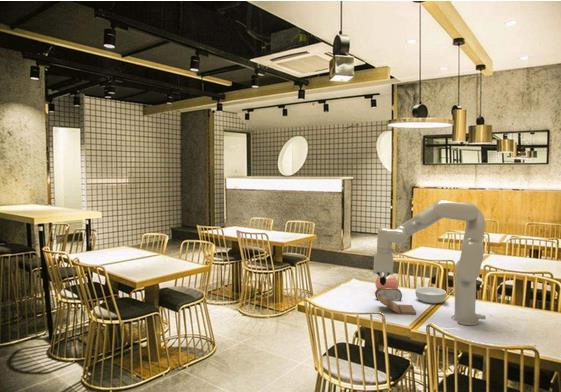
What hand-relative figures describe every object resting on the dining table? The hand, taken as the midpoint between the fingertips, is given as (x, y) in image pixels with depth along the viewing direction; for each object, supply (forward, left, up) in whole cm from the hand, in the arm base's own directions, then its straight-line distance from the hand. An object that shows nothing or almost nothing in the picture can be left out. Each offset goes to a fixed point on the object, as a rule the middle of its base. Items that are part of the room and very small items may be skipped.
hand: (382, 284), depth 216 cm
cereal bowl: (-30, -20, -15) cm, 39 cm away
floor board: (-6, 0, -15) cm, 16 cm away
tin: (-6, -17, -15) cm, 24 cm away
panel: (-3, 0, -11) cm, 11 cm away
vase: (-7, -34, -15) cm, 38 cm away
